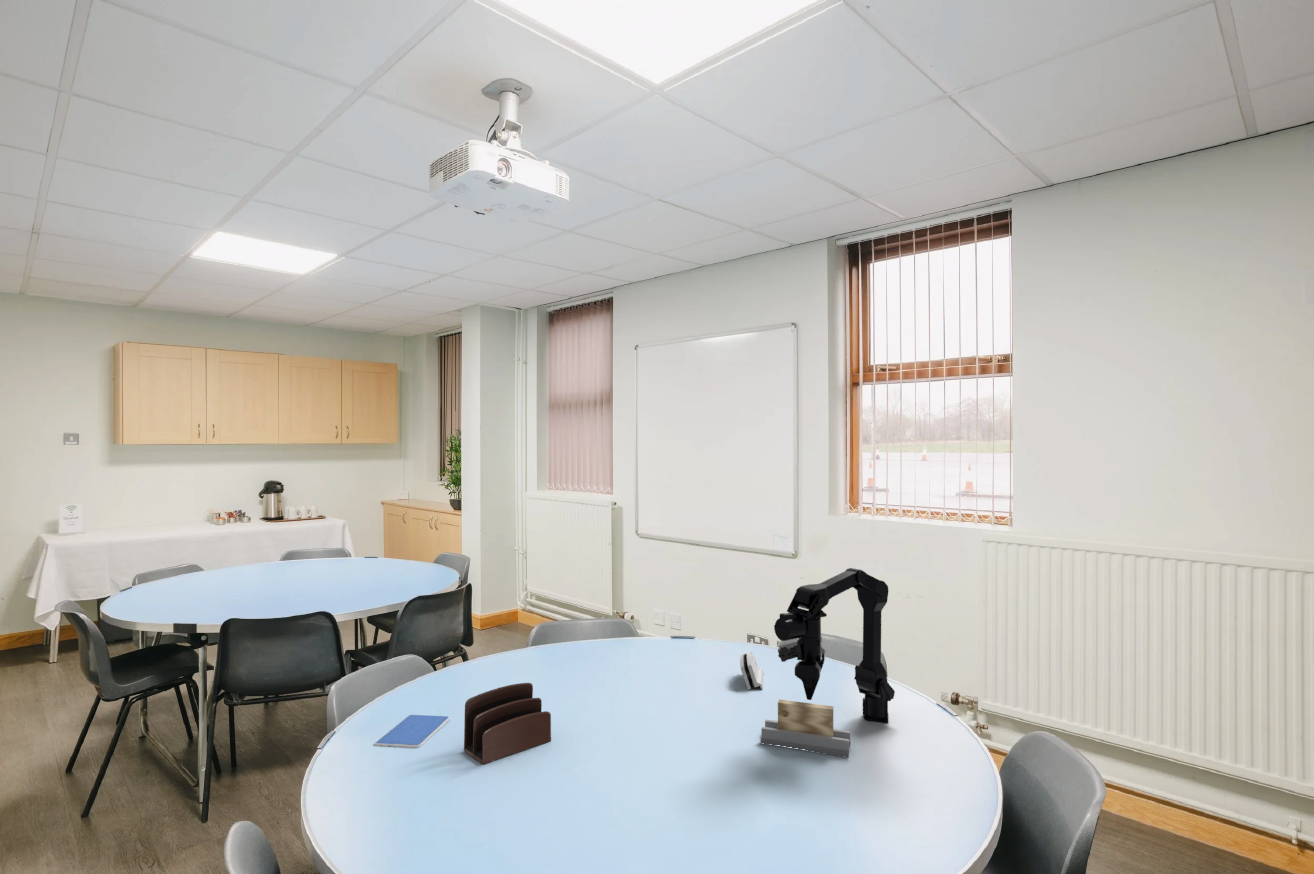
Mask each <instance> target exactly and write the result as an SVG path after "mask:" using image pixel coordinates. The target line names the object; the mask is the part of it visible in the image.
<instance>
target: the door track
mask: <svg viewBox="0 0 1314 874" xmlns="http://www.w3.org/2000/svg"><path fill="white" fill-rule="evenodd" d="M760 736H761V738H760V744H761V743H764V744H772V745H780V746H786V747H792V748H798V749H805V750H808V751H807V752H809V751H814V752H813V753H816V752H819V753H818V754H822V753H826V754H825V755H829V754H833V755H832V756H835V755H839V756H838V757H842V756H845V757H844V758H849V755H850V750H849V749H851V741H852V740H851V731H850V730H842V729H838V728H837V729H836V728H833V737H830V736H823V735H816V734H809V733H803V732H796V731H789V730H782V729H778V720H773V719H765V721H764V726H761V735H760ZM764 744H763V745H764Z"/></svg>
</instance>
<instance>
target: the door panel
mask: <svg viewBox="0 0 1314 874" xmlns="http://www.w3.org/2000/svg"><path fill="white" fill-rule="evenodd" d="M777 721H778V729H782V730H789V731H796V732H803V733H809V734H816V735H823V736H830V737H833V729H834V706H832V705H826V704H818V703H810V702H801V701H793V700H787V699H780V698H779V699H778V701H777Z"/></svg>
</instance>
